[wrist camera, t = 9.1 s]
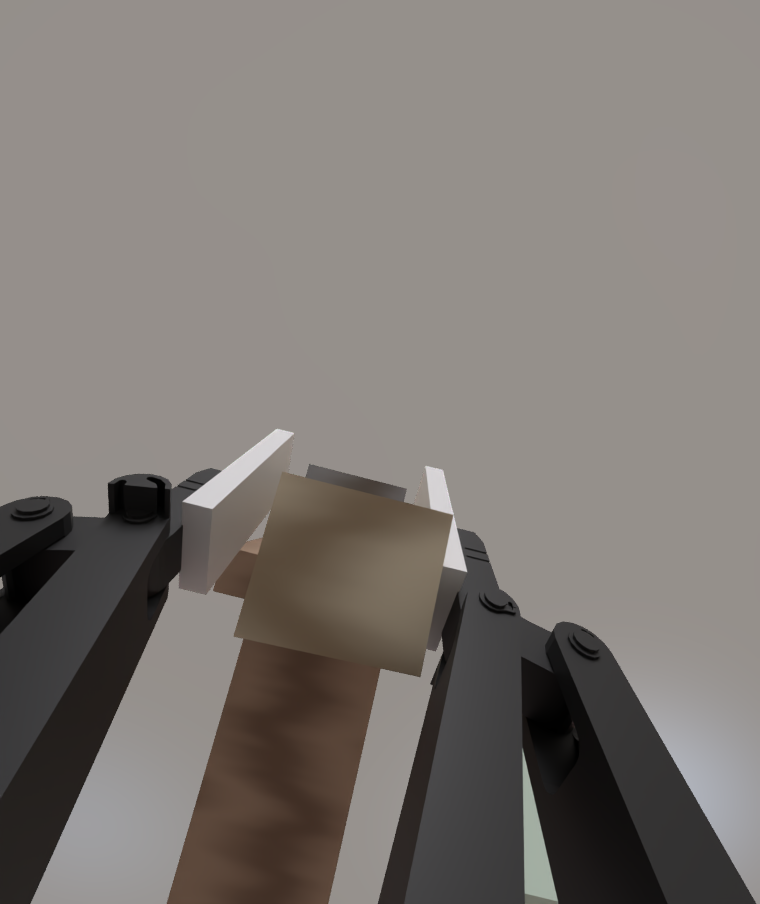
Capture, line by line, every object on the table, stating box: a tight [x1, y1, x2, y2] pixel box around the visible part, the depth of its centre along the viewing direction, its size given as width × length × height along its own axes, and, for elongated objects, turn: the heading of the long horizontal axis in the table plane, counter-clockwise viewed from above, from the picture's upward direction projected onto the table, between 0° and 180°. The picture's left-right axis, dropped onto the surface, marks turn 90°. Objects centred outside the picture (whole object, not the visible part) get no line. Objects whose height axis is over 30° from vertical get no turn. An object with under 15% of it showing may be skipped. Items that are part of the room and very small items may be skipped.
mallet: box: [234, 464, 453, 677], centre depth 17 cm, size 6×19×5 cm, turn 6°
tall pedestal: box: [167, 538, 381, 904], centre depth 19 cm, size 10×11×31 cm
